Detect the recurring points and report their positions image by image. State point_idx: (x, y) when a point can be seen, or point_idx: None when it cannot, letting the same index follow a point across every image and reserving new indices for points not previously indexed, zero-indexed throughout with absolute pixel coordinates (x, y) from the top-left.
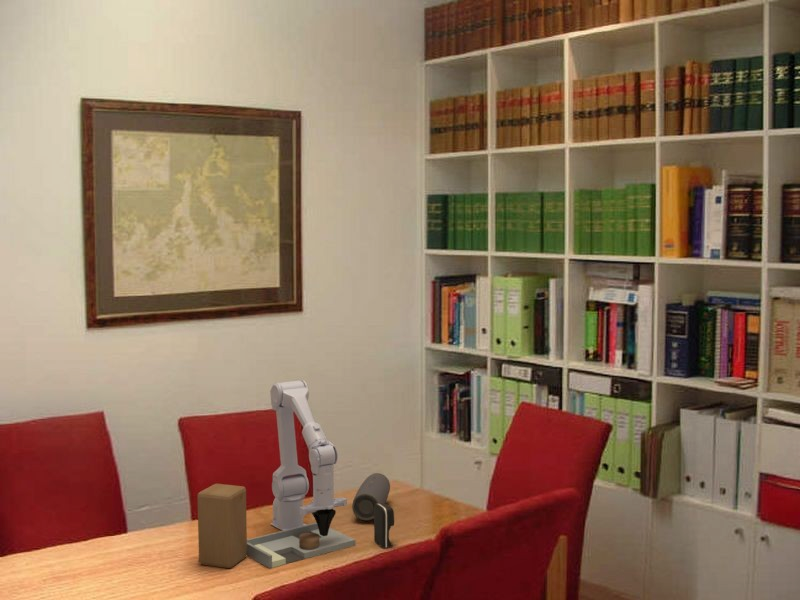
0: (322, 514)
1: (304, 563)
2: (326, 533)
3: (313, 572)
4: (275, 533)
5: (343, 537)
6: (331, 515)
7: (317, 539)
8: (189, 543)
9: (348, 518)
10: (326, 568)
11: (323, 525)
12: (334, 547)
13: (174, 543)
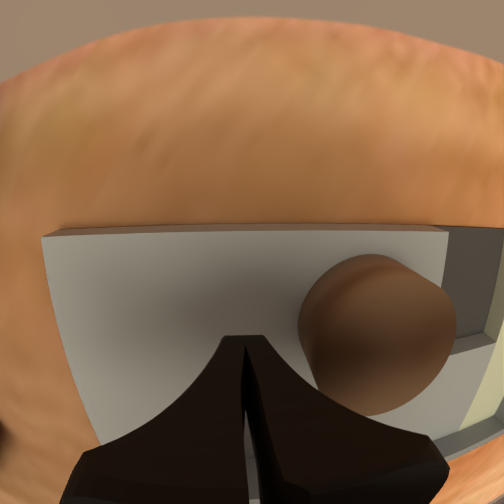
0: (404, 491)
1: (457, 173)
2: (240, 340)
3: (469, 56)
4: None
5: (84, 321)
6: (180, 460)
7: (371, 281)
8: (474, 480)
9: (22, 462)
10: (408, 37)
11: (303, 383)
12: (212, 229)
13: (482, 481)
